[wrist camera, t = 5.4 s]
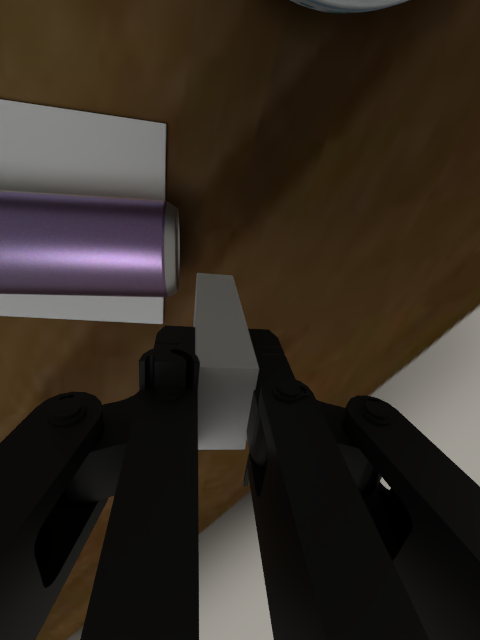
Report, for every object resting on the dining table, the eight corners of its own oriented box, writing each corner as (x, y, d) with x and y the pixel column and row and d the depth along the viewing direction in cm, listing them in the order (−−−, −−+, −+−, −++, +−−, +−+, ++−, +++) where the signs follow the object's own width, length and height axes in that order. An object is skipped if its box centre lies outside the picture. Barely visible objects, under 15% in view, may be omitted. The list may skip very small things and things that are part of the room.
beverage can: (173, 215, 16) (-168, 196, 14) (176, 315, 20) (-105, 311, 18) (179, 192, 21) (-74, 175, 19) (180, 274, 25) (-38, 267, 23)
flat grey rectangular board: (-153, 77, 18) (-162, 75, 17) (166, 124, 20) (165, 123, 20) (-72, 308, 24) (-77, 311, 23) (163, 321, 27) (162, 324, 26)
